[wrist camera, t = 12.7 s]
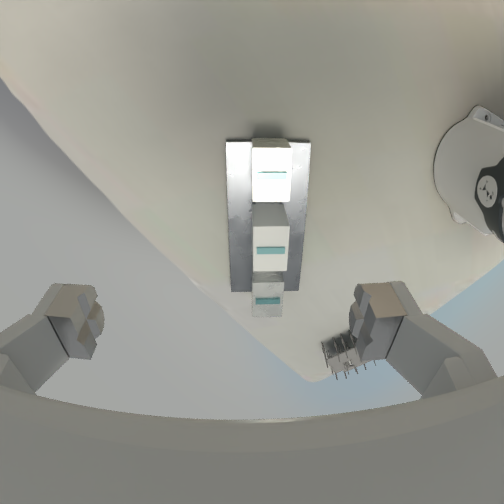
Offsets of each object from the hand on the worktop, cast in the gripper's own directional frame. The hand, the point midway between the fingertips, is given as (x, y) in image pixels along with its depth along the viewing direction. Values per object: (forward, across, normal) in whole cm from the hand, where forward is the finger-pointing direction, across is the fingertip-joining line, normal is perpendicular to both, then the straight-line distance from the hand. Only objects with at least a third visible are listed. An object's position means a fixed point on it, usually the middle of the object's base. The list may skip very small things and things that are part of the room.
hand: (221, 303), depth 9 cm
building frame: (+32, -19, +38) cm, 53 cm away
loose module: (+30, -4, +13) cm, 33 cm away
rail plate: (+31, -4, +13) cm, 34 cm away
